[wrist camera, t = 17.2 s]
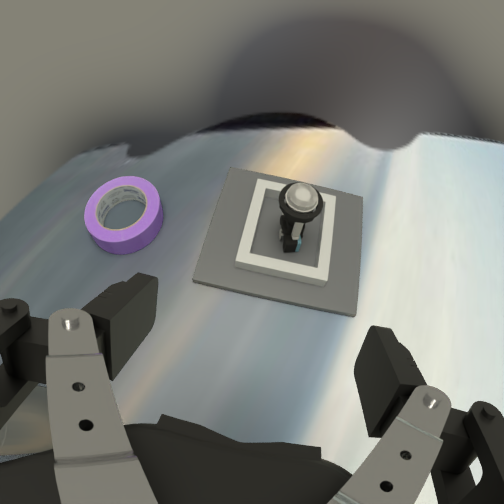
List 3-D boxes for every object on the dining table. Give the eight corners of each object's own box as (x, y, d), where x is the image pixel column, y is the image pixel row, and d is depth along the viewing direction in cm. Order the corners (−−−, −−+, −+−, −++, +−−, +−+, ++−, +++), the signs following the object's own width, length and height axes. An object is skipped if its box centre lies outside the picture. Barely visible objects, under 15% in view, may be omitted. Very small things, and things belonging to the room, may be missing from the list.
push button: (267, 215, 47) (275, 169, 38) (302, 213, 48) (317, 168, 39) (273, 256, 44) (284, 214, 35) (311, 253, 45) (330, 212, 36)
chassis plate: (193, 282, 43) (190, 272, 40) (230, 171, 52) (230, 158, 49) (353, 317, 42) (361, 310, 39) (360, 200, 51) (366, 189, 48)
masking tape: (157, 183, 50) (153, 167, 47) (170, 243, 45) (166, 228, 42) (90, 202, 48) (83, 187, 45) (95, 263, 43) (85, 251, 40)
